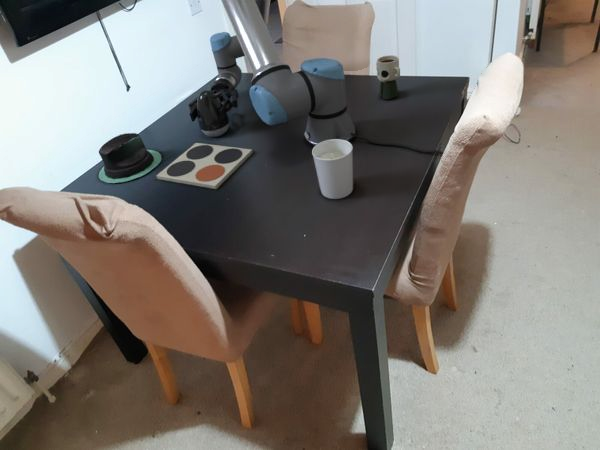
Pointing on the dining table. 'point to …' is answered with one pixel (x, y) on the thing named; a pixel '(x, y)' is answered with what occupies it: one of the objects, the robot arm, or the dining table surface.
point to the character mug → (388, 75)
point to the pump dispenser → (211, 114)
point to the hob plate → (205, 165)
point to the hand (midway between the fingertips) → (206, 116)
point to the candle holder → (334, 167)
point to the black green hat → (126, 158)
